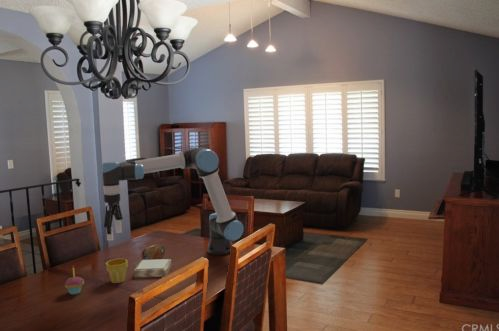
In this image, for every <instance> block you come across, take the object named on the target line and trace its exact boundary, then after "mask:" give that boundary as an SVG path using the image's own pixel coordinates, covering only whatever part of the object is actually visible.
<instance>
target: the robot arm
mask: <svg viewBox="0 0 499 331" xmlns="http://www.w3.org/2000/svg"><path fill="white" fill-rule="evenodd" d="M219 163H220V159H219V156H218V154H217V153H216V152H215V151H213V150H211V149H210V148H209V149H208V148H199V147H198V148H197V147H195V148H191V149H188V150H182V151H179V152H178V153H176V154H170V155H165V156H157V157H149V158H144V159H138V160H131V161H121V162H118V161H105V162H103V163H102V165H101V166H102V167H101V169H102V170H101V173H102V174H101V175H102V183H103V186H102V190H103V194H104V195H103V201H104V203H107V205H105V211H104V212H105V213H104V214H105V216H104V225H103V228H105V229H106V241H114V232H113V220H114V219H115V221H114V225H115V227H114V228H115V234H122V220H123V214H122V210H121V206H120V201H121V194H120V192H121V187H120V181H121V182H122V181H127V180H128V181H129V180H130V181H133V180H141V179H143V178H144V176H145V174H150V173H157V172H161V171H169V170H173V169H174V170H175V169H179V168H180V169H182V170H184V169H194V170H196V172H197V174H198V178H201V179H202V180H203V183H204V185H205V189H206V190H207V193H208V196H209V198H210V201H211V204H212V206H213V207H212V208H213V209H214V211H215V212H213V213H211V214H209V220H208V222H209V225H208V226H209V242H208V246H207V253H208V254H210V255H217V256H218V255H219V256H220V255H228V254H230V253H229V252H230V247H231V245H233V243H232V241H237V240H239V239H240V238H241V236H242V235H243V233H244V224H243V223H242V222H241V221H240V220H238V217H237V214H236V212H234V211H233V210H232V208H231V204H230V203H229V201H228V200H229V199H228V197H227V195H226V193H225V190H224V186H223V184H222V181H221V179H220V176H219V174H218V173H219V170H220V168H219Z"/></svg>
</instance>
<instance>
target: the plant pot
mask: <svg viewBox="0 0 499 331" xmlns="http://www.w3.org/2000/svg"><path fill="white" fill-rule="evenodd" d="M128 267H129V263H128V259H126V258H115V259H111V260H108V261H107V262H106V263H105V269H106V271H107V272H108V273H107V274H108V276H109V279H110V282H111V283H112V284H120V283H123V282H125V281H126V277H127V276H126V275H127V269H128Z"/></svg>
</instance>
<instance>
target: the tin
mask: <svg viewBox="0 0 499 331" xmlns="http://www.w3.org/2000/svg"><path fill="white" fill-rule="evenodd" d="M165 251H166V249H165V247H164V245H162V244H161V243H160V244H158V243H157V244H153V245H151V246H147V247H145V248H144V249H143V250H142V252H141V259H142V260H155V259H163V257H164V255H165Z"/></svg>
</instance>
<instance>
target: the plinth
mask: <svg viewBox="0 0 499 331" xmlns="http://www.w3.org/2000/svg"><path fill="white" fill-rule="evenodd" d="M171 267H172V259H171V258H170V259H169V258H166V259H165V258H161V259H155V260H141V261H140V262H139V263H138V264H137V265H136V267H135V268H134V270H133V277H134V278H153V277H155V278H156V277H158V278H159V277H167V275H168V273H169V271H170V270H171Z"/></svg>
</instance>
